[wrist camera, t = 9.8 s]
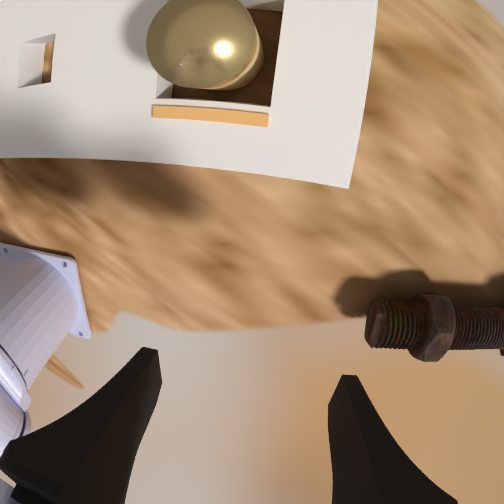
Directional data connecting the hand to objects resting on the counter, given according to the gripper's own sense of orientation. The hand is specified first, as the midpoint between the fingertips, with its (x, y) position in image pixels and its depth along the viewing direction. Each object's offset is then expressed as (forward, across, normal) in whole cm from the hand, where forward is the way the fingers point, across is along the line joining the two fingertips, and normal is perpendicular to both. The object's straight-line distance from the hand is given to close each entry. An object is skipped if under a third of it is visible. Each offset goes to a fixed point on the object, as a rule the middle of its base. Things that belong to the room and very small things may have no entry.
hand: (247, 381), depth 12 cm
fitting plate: (+9, +8, -12) cm, 18 cm away
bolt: (+10, -15, +2) cm, 18 cm away
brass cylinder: (+9, +3, -12) cm, 16 cm away
